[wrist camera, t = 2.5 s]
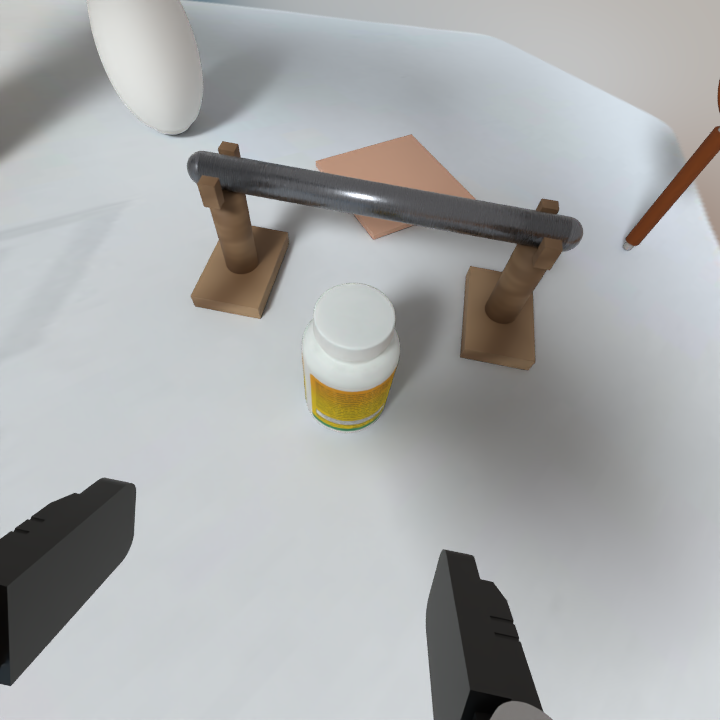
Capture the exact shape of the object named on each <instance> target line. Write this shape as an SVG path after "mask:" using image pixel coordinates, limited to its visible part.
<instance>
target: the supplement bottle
mask: <svg viewBox="0 0 720 720" xmlns="http://www.w3.org/2000/svg"><path fill="white" fill-rule="evenodd" d="M395 320H396V317H395V311H394V307H393V305H392V303H391V302H390V300H389V299H388V298H387V296H385V295H384V294H383V293H382V292H381V291H379V290H378V289H376V288H374V287H371V286H369V285H365V284H360V283H346V284H341V285H337V286H335V287H333V288H331V289H329V290H327V291H326V292H325V293H324V294H323V295H322V296H321V297H320V298H319V299H318V301H317V303H316V305H315V308H314V312H313V319H312V320H311V321H310V323H309V324H308V326H307V327H306V329H305V332H304V335H303V338H302V361H303V372H304V385H305V397H306V403H307V406H308V409H309V411H310V413H311V415H312V416H313V417H314V419H315V420H316V421H317V422H318V423H319V424H321V425H323V426H324V427H326V428H328V429H330V430H333V431H336V432H340V433H353V432H358V431H361V430H364V429H366V428H368V427H369V426H371V425H372V424H373V423H374V422H375V421H376V420H377V419H378V418H379V416H380V415H381V413H382V411H383V408H384V406H385V403H386V400H387V396H388V393H389V390H390V387H391V384H392V380H393V376H394V373H395V371H396V368H397V365H398V362H399V356H400V341H399V337H398V334H397V332H396V330H395V328H394V327H395Z"/></svg>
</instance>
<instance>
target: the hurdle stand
mask: <svg viewBox="0 0 720 720" xmlns="http://www.w3.org/2000/svg"><path fill="white" fill-rule="evenodd" d="M218 151H219V154H224V155H229V156H235V157H240V152H239V146H238V144H234V143H229V142H223V141H222V143H221V145H220V146H219V148H218ZM240 158H241V157H240ZM197 185H198V188H199V192H200V195H201V198H202V202H203V205H204V207H209V208H210V210H211V214H212V217H213V221H214V224H215V227H216V231H217V234H218V238H219V241H218V243H217V245H216V247H215V249H214V251H213V253H212V255H211V257H210V259H209V261H208V263H207V265H206V267H205V269H204V271H203V273H202V275H201V277H200V279H199V281H198V283H197V285H196V287H195V288H194V290H193V292H192V294H191V298H192V300H193V303H194V305H195V306H196V307H202V308H207V309H212V310H217V311H222V312H228V313H233V314H238V315H243V316H248V317H254V318H259V319H260V318H261V316H262V313H263V311H264V308H265V305H266V303H267V300H268V297H269V295H270V292H271V289H272V287H273V284H274V282H275V279H276V276H277V274H278V271H279V268H280V266H281V263H282V261H283V258H284V255H285V253H286V250H287V247H288V245H289V238H288V232H283V231H278V230H272V229H267V228H261V227H256V226H251V221H250V216H249V211H248V206H247V201H246V195H245V194H242V193H236V192H231V191H226V190H222V188H221V184H220V180H219V178H216V177H210V176H205V175H202V176H201V178H200V180H199V181H198V183H197ZM536 211H541V212H546V213H552V214H557V213H558V211H559V204H558V201H553V200H548V199H541V201H540V203H539V205H538V207H537V209H536ZM562 251H563V247H562V240H557V239H551V238H546V237H544V239H543V240H542V242H541V244H540V245H539V247H532V246H527V245H521V244H517V246H516V247H515V249H514V251H513V253H512V255H511V257H510V259H509V261H508V263H507V265H506V267H505V268H504V270H503V272H499V271H494V270H488V269H483V268H478V267H472V266H470V268H469V270H468V273H467V275H466V283H465V297H464V311H463V325H462V339H461V354H460V357H462V358H467V359H472V360H477V361H482V362H488V363H493V364H498V365H503V366H508V367H514V368H519V369H524V370H529V369H530V368H531V367H532V365H533V364H534V363H535V340H534V314H533V290H534V289H535V287H536V286H537V284H538V283H539V281H540V280H541V278H542V277H543V275H544V274H545V272H546V270H550V269H551V268H552V266H553V264H554V263H555V261H556V260H557V258H558V257H559V255H560V254H561V252H562Z"/></svg>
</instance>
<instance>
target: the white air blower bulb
mask: <svg viewBox="0 0 720 720" xmlns="http://www.w3.org/2000/svg"><path fill="white" fill-rule="evenodd" d="M87 8H88V14H89V20H90V25H91V30H92V34H93V38H94V41H95V44H96V48H97V51H98V54H99V56H100V59H101V62H102V64H103V67H104V69H105V71H106V73H107V75H108V77H109V79H110V81H111V83H112V85H113V87H114V89H115V91H116V92H117V94H118V95H119V97H120V98H121V100H122V101H123V102H124V104H125V105H126V106H127V107H128V109H129V110H130V111H131V112H132V113H133V114H134V115H135V116H136V117H137V118H138V119H139V120H140V121H141V122H142V123H144V124H145V125H147V126H148V127H151V128H153V129H156V130H157V131H159V132H161V133H164V134H171V135H177V134H180V133H182V132H184V131H186V130H187V129H188V128H189V127H190V125H191V123H193V122H194V121H195V120H196V118H197V117H198V114H199V111H200V107H201V103H202V97H203V74H202V67H201V61H200V56H199V51H198V47H197V44H196V40H195V37H194V34H193V31H192V28H191V25H190V23H189V20H188V18H187V15H186V13H185V11H184V8H183V6H182V4H181V2H180V0H87Z"/></svg>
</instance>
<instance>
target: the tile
mask: <svg viewBox="0 0 720 720" xmlns="http://www.w3.org/2000/svg"><path fill="white" fill-rule="evenodd" d="M316 167H317V168H318V169H319V170H320V172H324V173H329V174H335V175H340V176H346V177H352V178H357V179H363V180H368V181H374V182H379V183H385V184H391V185H396V186H402V187H407V188H413V189H418V190H424V191H429V192H435V193H441V194H446V195H452V196H457V197H463V198H468V199H474V200H475V198H474V197H473V196H472V195H471V194H470V193H469V192H468V191H467V190H466V189H465V188H464V187H463V186H462V185H461V184H460V183H459V182H458V181H457V180H456V179H455V178H454V177H453V176H452V175H451V174H450V173H449V172H448V171H447V170H446V169H445V168H444V167H443V166H442V165H441V164H440V163H439V162H438V161H437V160H436V159H435V158H434V157H433V156H432V155H431V154H430V153H429V152H428V151H427V150H426V149H425V148H424V147H423V146H422V145H421V144H420V143H419V142H418V141H417V140H416V139H415V138H414V137H413V136H412V135H407V136H404V137H400V138H397V139H393V140H389V141H386V142H382V143H379V144H375V145H372V146H368V147H364V148H361V149H357V150H354V151H350V152H347V153H343V154H339V155H336V156H332V157H329V158H325V159H322V160H318V161H316ZM354 215H355V217H356V218H357V219H358V220H359V222H360V223H361V224H362V226H363V227H364V228H365V229H366V231H367V232H368V233H369V235H370V236H371V237H372V238H373V240H374V239H377V238H379V237H382V236H385V235H388V234H390V233H393V232H396V231H399V230H402V229H404V228H407V227H410V226H413V225H412V224H406V223H401V222H395V221H390V220H384V219H379V218H373V217H368V216H362V215H357V214H354Z"/></svg>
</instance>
